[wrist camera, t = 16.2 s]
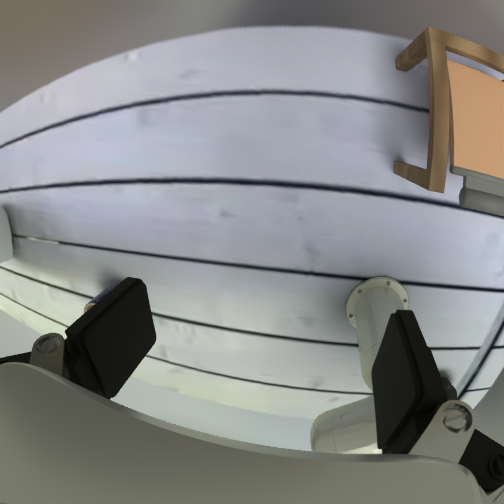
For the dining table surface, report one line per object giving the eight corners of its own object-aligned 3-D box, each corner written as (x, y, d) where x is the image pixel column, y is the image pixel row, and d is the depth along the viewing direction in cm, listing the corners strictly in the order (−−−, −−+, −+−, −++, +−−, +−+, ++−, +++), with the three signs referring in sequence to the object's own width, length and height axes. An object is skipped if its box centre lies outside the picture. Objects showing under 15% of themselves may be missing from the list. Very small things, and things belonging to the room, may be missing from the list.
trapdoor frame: (490, 88, 29) (542, 79, 14) (486, 191, 37) (537, 216, 22) (395, 58, 33) (428, 26, 18) (393, 173, 40) (428, 190, 26)
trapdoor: (517, 94, 20) (526, 91, 17) (520, 220, 24) (530, 222, 22) (441, 63, 22) (448, 57, 20) (445, 203, 27) (454, 205, 25)
